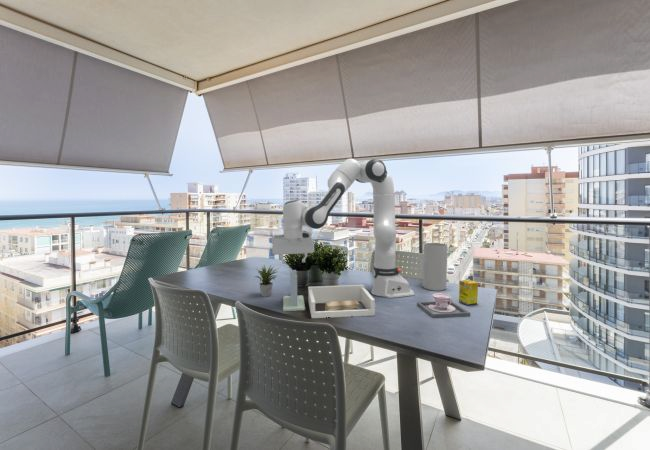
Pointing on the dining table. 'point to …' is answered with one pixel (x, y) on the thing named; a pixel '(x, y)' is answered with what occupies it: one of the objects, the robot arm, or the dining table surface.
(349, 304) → the offcut stack
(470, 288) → the supplement box
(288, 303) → the sage board
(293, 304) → the light grey square panel
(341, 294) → the white open bin
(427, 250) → the cylinder vase
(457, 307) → the coaster tray
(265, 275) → the house plant
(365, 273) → the dining table surface
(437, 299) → the teacup
